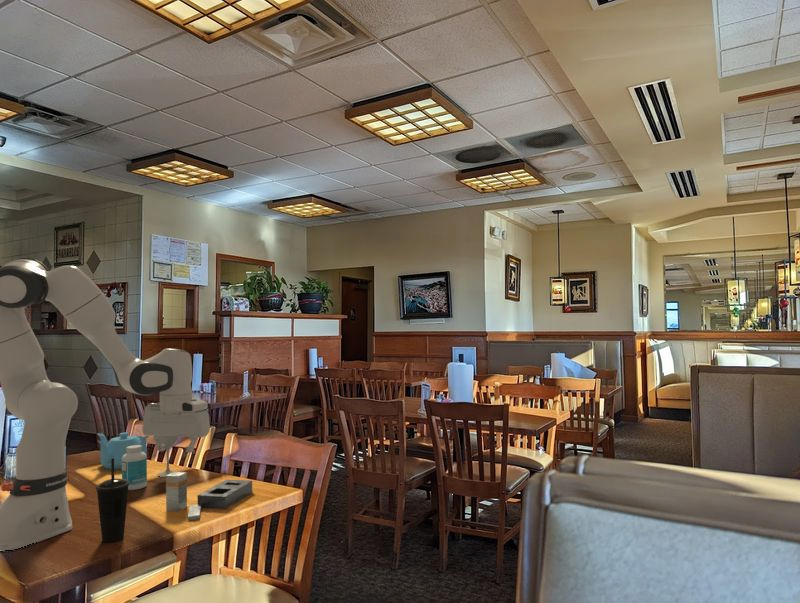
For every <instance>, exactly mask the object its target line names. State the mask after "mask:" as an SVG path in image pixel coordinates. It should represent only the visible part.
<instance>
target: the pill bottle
mask: <svg viewBox="0 0 800 603" xmlns="http://www.w3.org/2000/svg"><path fill="white" fill-rule="evenodd" d="M141 450H142V445H133V446H128V447H126V451H127V453H126V454H125V455H123V457H122V469H121V479H123V480H127V481H129V482H130V484H129V486H128V491H135V490H141V489H143V488H145V487H146V486H147V485H148V472H147V470H148V469H147V468H148V467H147V466H148V463H147V461H148V460H147V458H148V456H147V457H146V454H145V453H144V452H141Z"/></svg>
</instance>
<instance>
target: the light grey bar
mask: <svg viewBox="0 0 800 603" xmlns="http://www.w3.org/2000/svg"><path fill="white" fill-rule="evenodd" d="M201 511H202V508H201V504H198V503H196V504H189V509H188V515H187V521H189V522H190V521H197V520H198V519H199V520H200V518H201Z"/></svg>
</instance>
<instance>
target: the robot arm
mask: <svg viewBox="0 0 800 603" xmlns="http://www.w3.org/2000/svg"><path fill="white" fill-rule="evenodd" d="M44 301H47V302H49V303H51V304H52V305H53V306H55V308H56V309H57V310H58V311H59V313H61V314H62V316H63V317H64V319H66V321H67V322H68V323H69V324H70V325H71V326H73V328H74V329H75V330H77V331H78V332H79V333H80V334H81V335H82V336H84V337H85V338H86V339H88V340H89V341H90V342H91V343H92V344H93V345H94V346H95V347H96V348H97V350H98V351H99V352H100V353H101V355H102V356H103V357H104V359H105V360H106V362H108V364H109V365H110V366H111V368H112V370H113V373H114V377H115V382H116V384H117V386H118V388H120V390H121V391H123V392H125V393H127V394H131V395H132V394H135V395H139V396H151V395H154V394H157V393H159V402H157V403H155V402H150V403H148V404H146V406H145V407H144V408H143V409H144V414H143V420H142V427H141V428H142V433H143V435H144V436H153V440H154V442H155V444H156V448H157V449H156V450H157V451H158V452H165V451H166V448H165V444H163V443H162V440H161V438H162V436H179V437H181V438H182V437H183V438H188V440H189V441H190V442H189V444H188V445H186V446H185V449H186V450H185V452H186V453H190V454H191V453H194V451H195V445H196V443H197V442H198V439H199V438H204V437H207V436H208V435H209V433H210V431H211V430H210V428H211V427H210V423H211V422H210V415H209V412H208V411H207V410H206V409H208V406H209V403H208V402H207V401H205V400H203V399H201V398H197V397H195V396H193V390H192V387H191V386H192V380H193V363H192V356H191V354H190V353H189V352H188V351H187V350H184V349H179V348H170V347H169V348H167V347H165V348H164V349H162V350H161V351H159V353H156V354H155V355H153V356H151V357H149V358H147V359H144V360H143V359H141V358H138V357H137V356H135V355H134V354H133V353H132V352H131V351H130V349H129V348H128V347H127V345H126V344H125V343H124V341H123V340H122V339H121V337H120V336H119V334H118V333H117V331H116V328H115V327H116V326H115V321H116V312H115V309H114V307H113V306H112V304H111V302H110V300H109V299H108V297H107V296H106V295H105V294H104V292H103V291H102V290H101V289H100V287H99V286H98V285H97V284H96V283H95V282H94V281H93V280H92V279H91V278H90V277H89V276H88V275H87V274H86V273H85V272H84V271H82V270H81V269H80V268H79V267H78V266H75V265H62V266H59V267H56V268H54V269H52V270H50V269H48V267H47V266H46V265H45V264H44V263H42V262H41V261H39V260H38V259H34V258H29V257H22V258H21V257H20V258H17V259H14V260H11V261H9V262H6V263H4V264H3V265H2V266H0V386H1V390H2V393H3V396H4V404H5V407H6V409H7V411H8V412H9V413H10V414H11V415H12V416H13V417H15V418H16V419H19V420H21V421H23V424H24V425H23V429H22V433H21V438H20V441H19V443H18V445H17V446H16V448H15V477H14V479H13V482H12V483H11V482H9V483H7V482H3V483H2V484H1V485H0V490H1V492H9V495H8V496H7V498H5V499H4V500H3V502H2V503H1V504H0V550H12V549H18V548H21V547H23V548H25V547H24V546H26V547H28V546H27V545H29V544H31V545H33V544H32V543H34V544H36V542H37V543H39V542H43V541H45V540H47V539H49V538H53V537H56V536H58V535H60V534H63V533H66V532H69V531H72V530H73V519H72V517H71V512H70V506H69V501H68V495H67V489H66V485H67V484H68V473H67V472H68V471H67V469H66V444H67V443H66V442H67V441H66V440H67V435H68V431H69V428H70V424H71V420H72V417H73V416H74V415H75V413H76V412H77V410H78V406H79V399H78V396H77V394H76V392H74V391H73V390H72V389H71V388H69V386H67V385H65V384H63V383H60V382H54V381H53V382H52V381H51V380H50V379H49V378H48V375H47V371H46V367H45V362H44V361H45V353H44V350H43V349H42V347H41V345H40V343H39V341H38V339H37V337H36V335H35V333H34V331H33V329H32V327H31V325H30V323H29V320H28V319H27V316H26V312H25V308H26V307H28V306H29V307H30V306H33V305H35V304H41V303H42V302H44ZM179 437H178V438H179ZM29 546H30V545H29ZM21 549H22V548H21ZM18 550H19V549H18Z"/></svg>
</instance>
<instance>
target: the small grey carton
mask: <svg viewBox="0 0 800 603" xmlns="http://www.w3.org/2000/svg"><path fill="white" fill-rule="evenodd" d="M187 474H188V472H187V471H186V472H185V471H178V472H173V473H171V474H169V475H166V477H165V494H166V496H165V499H166V500H165V501H166V502H165V506H166V508H165V509H166V510H165V511H166V512H167V511H168V512H180V511H182V510H184V509H186V508H187V507H188V489H187V488H188V487H187V486H188V475H187Z"/></svg>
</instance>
